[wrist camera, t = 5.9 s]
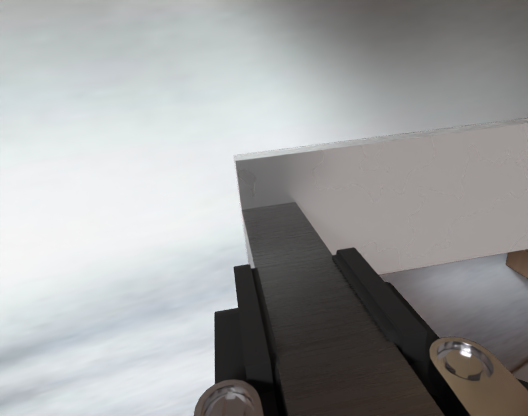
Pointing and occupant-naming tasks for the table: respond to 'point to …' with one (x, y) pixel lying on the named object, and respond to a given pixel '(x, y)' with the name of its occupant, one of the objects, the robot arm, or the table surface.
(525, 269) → the walnut bench
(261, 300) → the robot arm
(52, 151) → the table surface
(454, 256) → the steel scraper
